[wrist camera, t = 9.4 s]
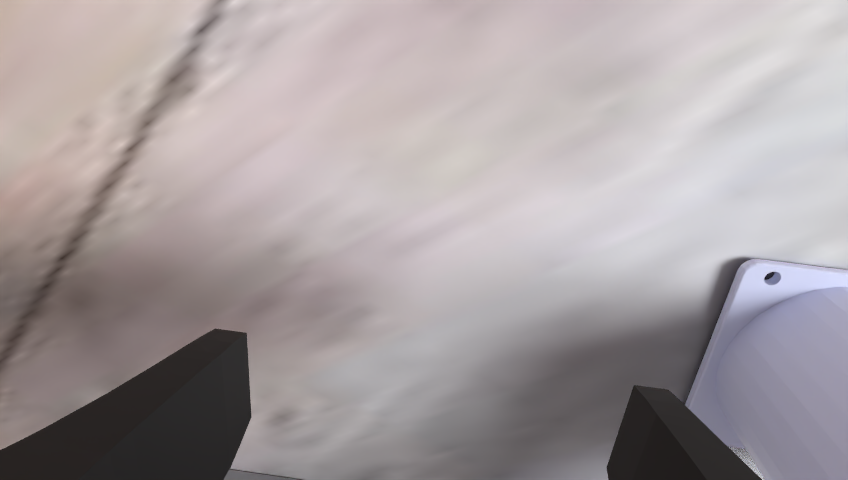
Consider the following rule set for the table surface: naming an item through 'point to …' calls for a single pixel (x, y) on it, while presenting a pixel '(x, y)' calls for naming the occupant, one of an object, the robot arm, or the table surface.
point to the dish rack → (251, 476)
